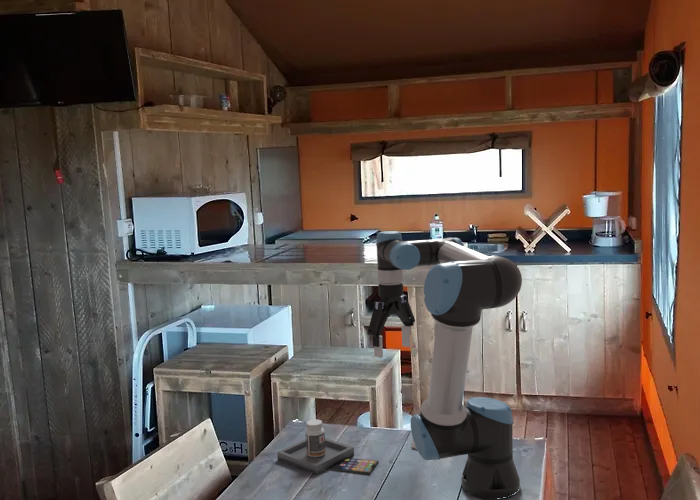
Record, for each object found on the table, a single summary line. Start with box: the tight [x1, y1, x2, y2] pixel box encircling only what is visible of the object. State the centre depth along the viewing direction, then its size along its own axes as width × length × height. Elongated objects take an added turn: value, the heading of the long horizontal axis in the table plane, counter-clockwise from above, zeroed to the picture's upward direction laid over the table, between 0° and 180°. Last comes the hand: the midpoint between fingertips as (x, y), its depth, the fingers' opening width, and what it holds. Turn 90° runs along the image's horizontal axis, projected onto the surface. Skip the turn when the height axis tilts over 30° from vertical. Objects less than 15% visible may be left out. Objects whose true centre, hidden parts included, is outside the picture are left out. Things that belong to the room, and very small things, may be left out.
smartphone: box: [325, 457, 380, 476], centre depth 199 cm, size 8×15×1 cm, turn 70°
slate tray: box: [276, 437, 355, 475], centre depth 206 cm, size 16×16×2 cm
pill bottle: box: [305, 418, 326, 458], centre depth 205 cm, size 6×6×10 cm
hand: (392, 351), depth 211 cm, fingers open, 13 cm apart
